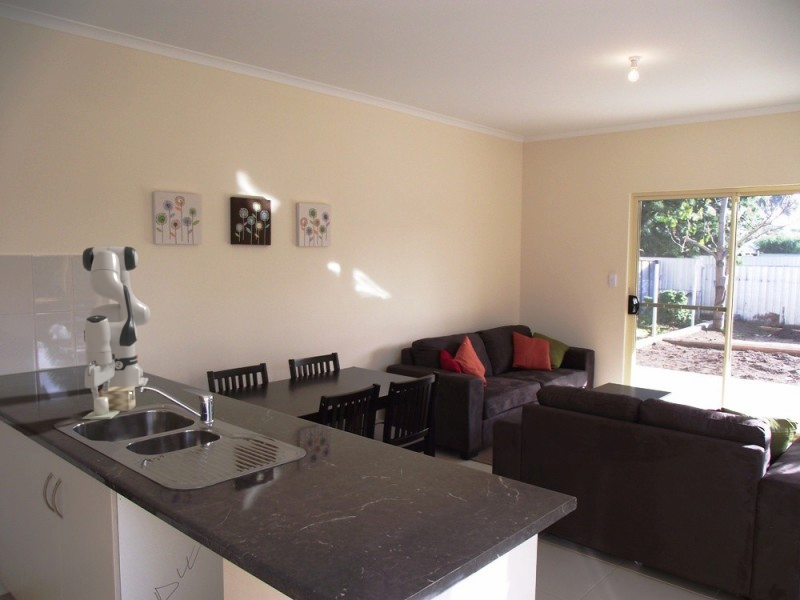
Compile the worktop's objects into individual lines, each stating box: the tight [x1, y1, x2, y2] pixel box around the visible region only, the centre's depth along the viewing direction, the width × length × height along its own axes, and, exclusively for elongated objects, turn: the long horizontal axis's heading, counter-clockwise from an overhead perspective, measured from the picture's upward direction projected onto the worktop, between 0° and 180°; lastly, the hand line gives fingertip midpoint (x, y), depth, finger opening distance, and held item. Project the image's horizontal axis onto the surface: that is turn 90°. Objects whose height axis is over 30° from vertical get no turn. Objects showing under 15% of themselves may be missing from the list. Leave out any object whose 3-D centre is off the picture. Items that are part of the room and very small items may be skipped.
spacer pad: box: [82, 410, 121, 421], centre depth 239 cm, size 10×10×1 cm
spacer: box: [93, 397, 109, 415], centre depth 238 cm, size 5×5×6 cm
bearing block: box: [101, 386, 136, 412], centre depth 249 cm, size 10×8×8 cm
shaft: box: [98, 389, 133, 400], centre depth 248 cm, size 12×6×6 cm, turn 95°
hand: (100, 394), depth 239 cm, fingers open, 8 cm apart
